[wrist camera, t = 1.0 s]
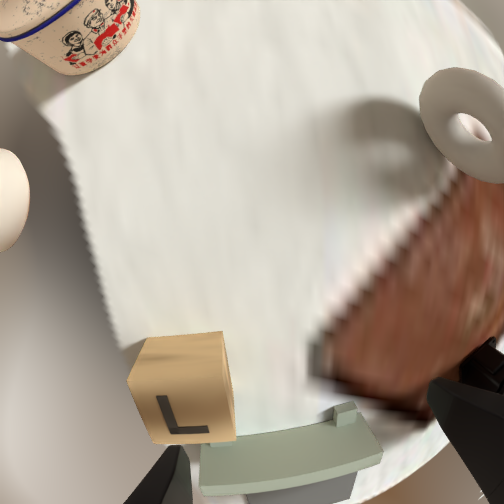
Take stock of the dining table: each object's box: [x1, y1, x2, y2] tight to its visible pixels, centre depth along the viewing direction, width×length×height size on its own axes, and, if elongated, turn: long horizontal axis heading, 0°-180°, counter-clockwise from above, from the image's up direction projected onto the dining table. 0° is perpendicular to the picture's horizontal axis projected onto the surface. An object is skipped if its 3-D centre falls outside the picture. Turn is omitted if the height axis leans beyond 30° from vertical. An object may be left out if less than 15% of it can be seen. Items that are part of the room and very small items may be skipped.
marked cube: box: [127, 331, 236, 444], centre depth 19 cm, size 6×6×6 cm
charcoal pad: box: [246, 471, 358, 504], centre depth 27 cm, size 14×14×1 cm
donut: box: [419, 67, 504, 184], centre depth 15 cm, size 10×4×10 cm, turn 48°
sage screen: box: [199, 401, 384, 496], centre depth 22 cm, size 6×16×6 cm, turn 96°
